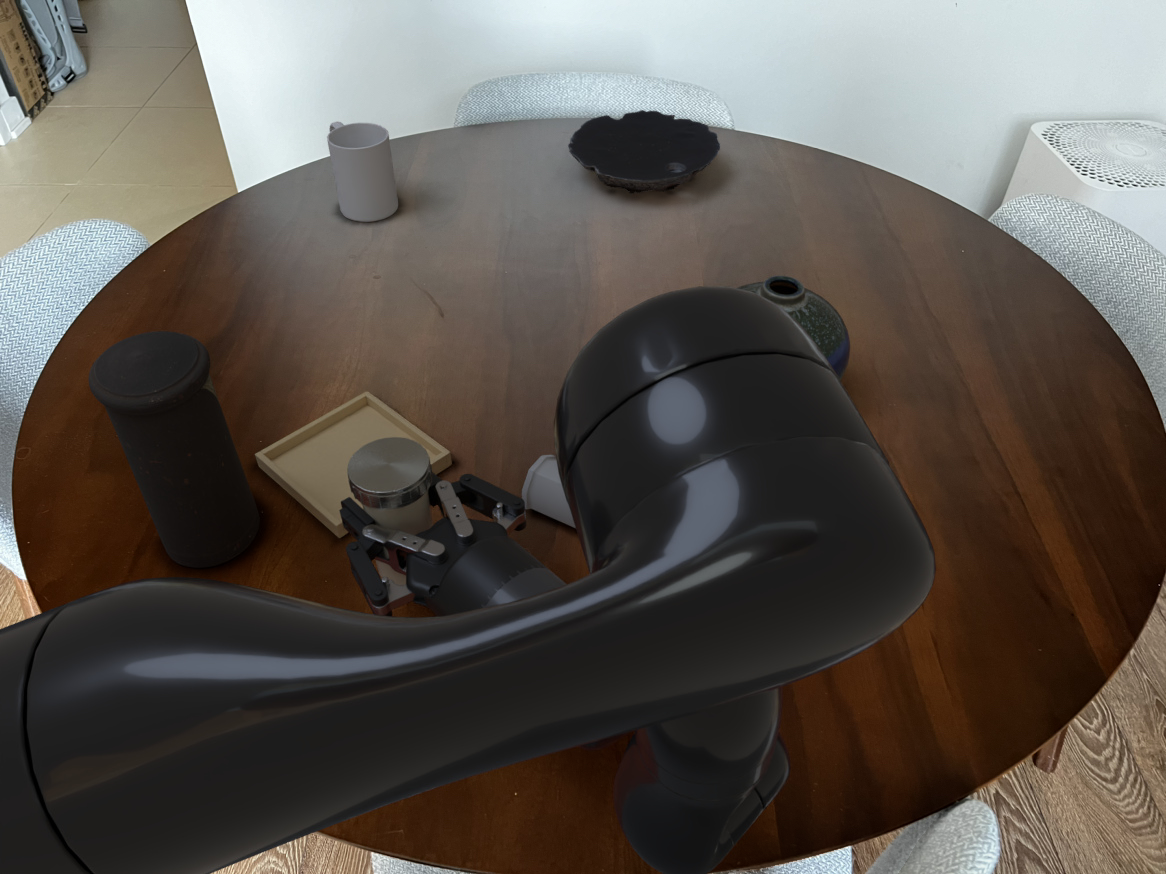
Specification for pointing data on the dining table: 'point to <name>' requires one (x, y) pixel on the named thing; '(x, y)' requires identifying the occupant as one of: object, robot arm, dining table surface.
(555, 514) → the tube
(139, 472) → the container
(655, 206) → the dining table surface
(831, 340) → the vase
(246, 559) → the dining table surface
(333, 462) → the tray
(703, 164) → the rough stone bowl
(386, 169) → the mug
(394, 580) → the jar
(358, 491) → the lid
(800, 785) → the dining table surface
